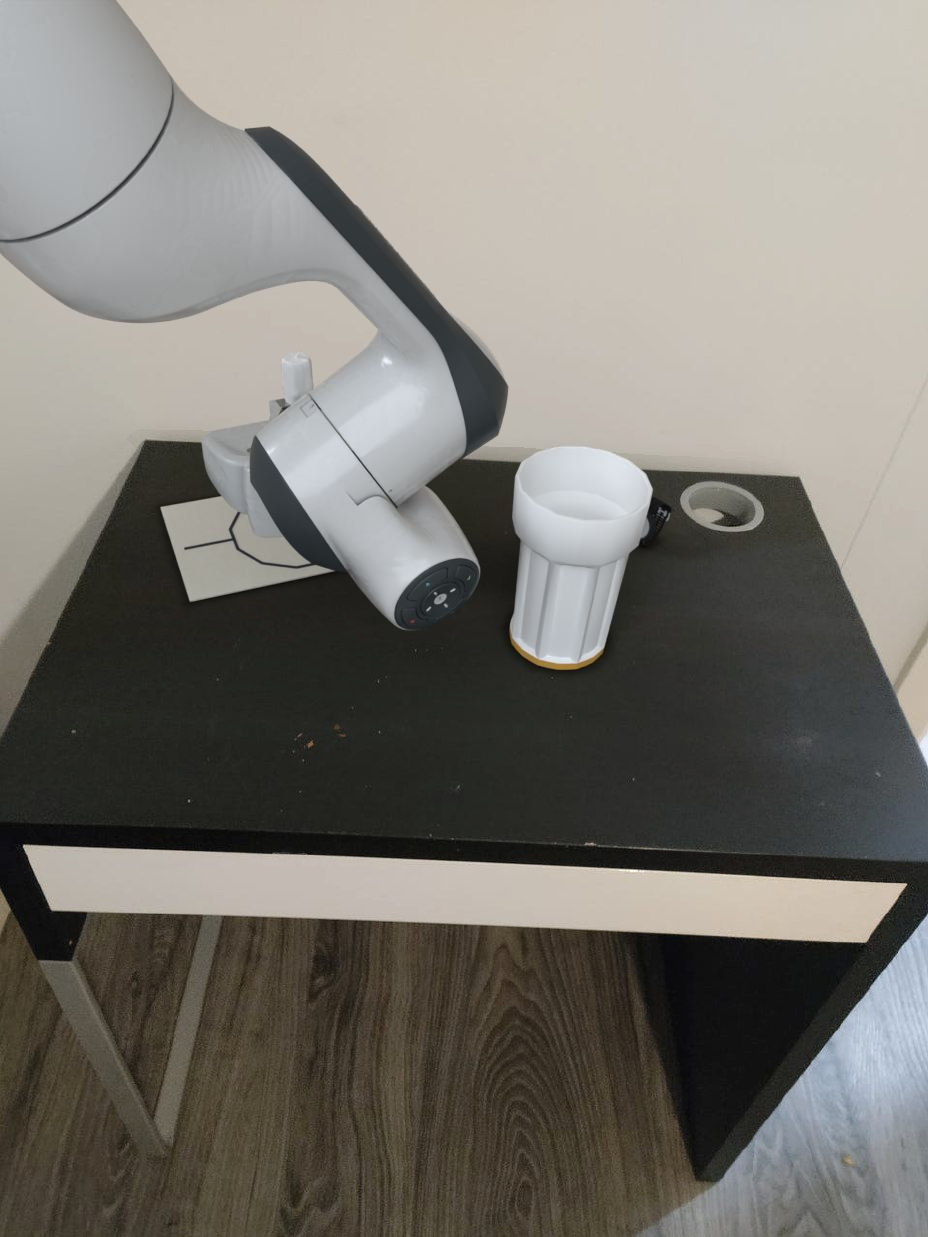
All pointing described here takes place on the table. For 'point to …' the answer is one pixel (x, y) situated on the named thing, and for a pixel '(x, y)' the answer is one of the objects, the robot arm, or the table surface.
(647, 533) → the smartwatch
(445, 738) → the table surface
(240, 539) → the sketch sheet
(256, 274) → the robot arm
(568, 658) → the cup
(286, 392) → the candle
